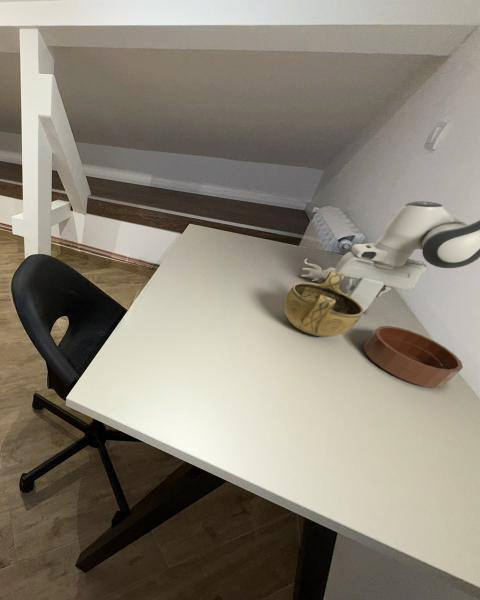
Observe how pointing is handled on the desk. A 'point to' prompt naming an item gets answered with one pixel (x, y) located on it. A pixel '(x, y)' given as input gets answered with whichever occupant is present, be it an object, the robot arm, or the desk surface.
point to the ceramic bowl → (322, 307)
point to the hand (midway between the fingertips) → (361, 292)
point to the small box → (365, 291)
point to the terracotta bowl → (412, 356)
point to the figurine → (316, 272)
